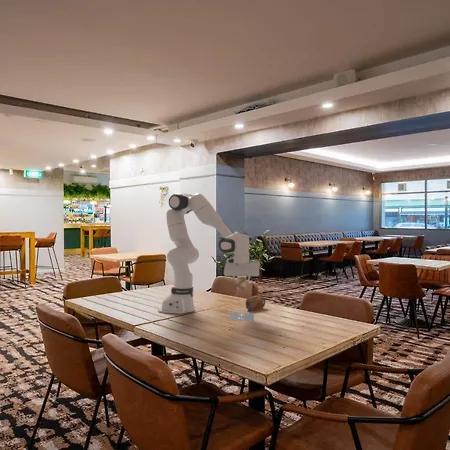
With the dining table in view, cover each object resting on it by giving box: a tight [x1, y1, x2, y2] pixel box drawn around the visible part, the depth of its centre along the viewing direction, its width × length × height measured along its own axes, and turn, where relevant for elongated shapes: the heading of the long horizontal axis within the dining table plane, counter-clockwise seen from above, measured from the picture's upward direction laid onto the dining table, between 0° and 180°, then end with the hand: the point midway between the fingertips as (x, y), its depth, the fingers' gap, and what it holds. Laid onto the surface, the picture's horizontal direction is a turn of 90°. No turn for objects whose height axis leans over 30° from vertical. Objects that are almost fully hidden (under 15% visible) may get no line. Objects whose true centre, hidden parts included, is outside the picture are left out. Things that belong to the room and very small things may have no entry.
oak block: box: [236, 276, 247, 291], centre depth 231 cm, size 5×12×6 cm, turn 176°
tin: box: [245, 295, 266, 311], centre depth 251 cm, size 15×3×8 cm, turn 129°
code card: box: [228, 312, 255, 322], centre depth 231 cm, size 14×18×1 cm
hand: (241, 283), depth 231 cm, fingers closed on oak block, 5 cm apart
